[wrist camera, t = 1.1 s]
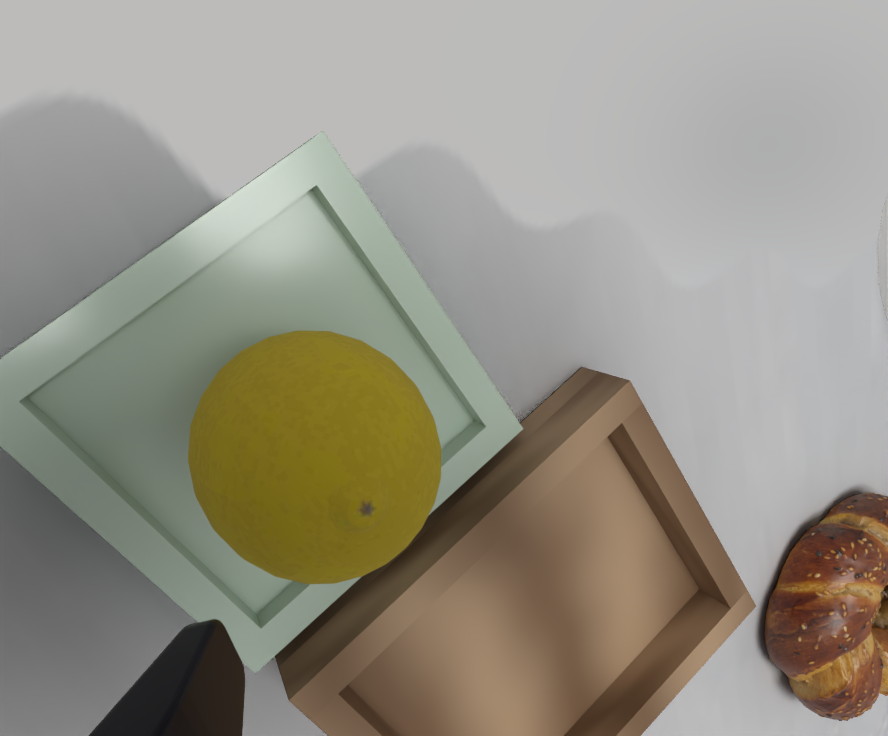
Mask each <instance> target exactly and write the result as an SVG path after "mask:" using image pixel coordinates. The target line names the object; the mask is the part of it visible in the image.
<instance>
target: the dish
mask: <svg viewBox="0 0 888 736" xmlns="http://www.w3.org/2000/svg"><path fill="white" fill-rule="evenodd" d="M293 331H331V332H334V333H338V334H341V335H344V336H348V337H351V338H355V339H358V340H361V341H363V342H365V343H366V344H368V345H370V346H371V347H373V348H375V349H376V350H378V351H380V352H381V353H383V354H385V355H386V356H388V357H389V358H391V359H392V360H393V361H394V362H395V363H396V364H397V365H398V366H399V367H400V368H401V369H402V370H403V371H404V372H405V373H406V375H407V376H408V377H409V378H410V379H411V380H412V381H413V382H414V383H415V384H416V386H417V387H418V389H419V391H420V393H421V394H422V396H423V398H424V400H425V402H426V404H427V406H428V408H429V409H430V411H431V413H432V415H433V418H434V420H435V424H436V428H437V432H438V437H439V441H440V445H441V480H440V484H439V488H438V492H437V496H436V500H435V503H434V505H433V507H432V509H431V511H430V513H429V515H430V514H431V513H432V512H433V511H434V510H435V509H436V508H437V507H438V506H440V505H441V504H442V503H443V502H444V501H445V500H446V499H447V498H448V497H449V496H450V495H452V494H453V493H454V492H455V491H456V490H457V489H458V488H459V487H460V486H461V485H462V484H464V483H465V482H466V481H467V480H468V479H469V478H470V477H471V476H472V475H473V474H475V473H476V472H477V471H478V470H479V469H480V468H481V467H482V466H483V465H484V464H485V463H487V462H488V461H489V460H490V459H491V458H492V457H493V456H494V455H495V454H496V453H498V452H499V451H500V450H501V449H502V448H503V447H504V446H505V445H506V444H507V443H508V442H510V441H511V440H512V439H513V438H514V437H515V436H516V435H517V434H518V433H519V432H520V431H522V430H523V427H522V426H521V424H520V423H519V421H518V420H517V418H516V417H515V416H514V414H513V413H512V411H511V410H510V408H509V407H508V405H507V404H506V402H505V401H504V399H503V398H502V396H501V395H500V393H499V392H498V390H497V389H496V387H495V386H494V384H493V383H492V381H491V380H490V378H489V377H488V375H487V374H486V372H485V371H484V369H483V368H482V366H481V365H480V363H479V362H478V360H477V359H476V357H475V356H474V354H473V353H472V351H471V350H470V348H469V347H468V345H467V344H466V342H465V341H464V339H463V338H462V336H461V335H460V334H459V332H458V331H457V329H456V328H455V326H454V325H453V323H452V322H451V320H450V319H449V317H448V316H447V314H446V313H445V311H444V310H443V308H442V307H441V305H440V304H439V302H438V301H437V299H436V298H435V296H434V295H433V293H432V292H431V290H430V289H429V287H428V286H427V284H426V283H425V281H424V280H423V278H422V277H421V275H420V274H419V272H418V271H417V269H416V268H415V266H414V265H413V263H412V262H411V260H410V259H409V257H408V256H407V254H406V253H405V252H404V250H403V249H402V247H401V246H400V244H399V243H398V241H397V240H396V238H395V237H394V235H393V234H392V232H391V231H390V229H389V228H388V226H387V225H386V223H385V222H384V220H383V219H382V217H381V216H380V214H379V213H378V211H377V210H376V208H375V207H374V205H373V204H372V202H371V201H370V199H369V198H368V196H367V195H366V193H365V192H364V190H363V189H362V187H361V186H360V184H359V183H358V181H357V180H356V178H355V177H354V175H353V174H352V173H351V171H350V170H349V168H348V167H347V165H346V164H345V162H344V161H343V159H342V158H341V156H340V155H339V153H338V152H337V150H336V149H335V147H334V146H333V144H332V143H331V141H330V140H329V139H328V137H327V135H326V134H325V132H324V131H322V132H321V133H319V134H318V135H316V136H314V137H313V138H311V139H310V140H309V141H307V142H306V143H304V144H303V145H301V146H300V147H299V148H298V149H296V150H294V151H293V152H291V153H290V154H289V155H287V156H286V157H284V158H283V159H282V160H280V161H279V162H278V163H276V164H274V165H273V166H272V167H270V168H269V169H267V170H266V171H265V172H263V173H262V174H261V175H259V176H257V177H256V178H255V179H253V180H252V181H250V182H249V183H248V184H246V185H245V186H243V187H242V188H240V189H239V190H238V191H236V192H235V193H234V194H232V195H231V196H229V197H228V198H226V199H225V200H223V201H222V202H221V203H219V204H218V205H216V206H215V207H214V208H212V209H211V210H209V211H208V212H206V213H205V214H204V215H202V216H201V217H199V218H198V219H197V220H195V221H194V222H192V223H191V224H189V225H188V226H187V227H185V228H184V229H182V230H181V231H180V232H178V233H177V234H175V235H174V236H172V237H171V238H170V239H168V240H167V241H165V242H164V243H163V244H161V245H160V246H158V247H157V248H155V249H154V250H153V251H151V252H150V253H148V254H147V255H146V256H144V257H143V258H141V259H140V260H138V261H137V262H136V263H134V264H133V265H131V266H130V267H129V268H127V269H126V270H124V271H123V272H121V273H120V274H119V275H117V276H116V277H114V278H113V279H112V280H110V281H109V282H107V283H106V284H104V285H103V286H102V287H100V288H99V289H97V290H96V291H95V292H93V293H92V294H90V295H89V296H87V297H86V298H85V299H83V300H82V301H80V302H79V303H78V304H76V305H75V306H73V307H72V308H70V309H69V310H68V311H66V312H65V313H63V314H62V315H61V316H59V317H58V318H56V319H55V320H53V321H52V322H51V323H49V324H48V325H46V326H45V327H44V328H42V329H41V330H39V331H38V332H36V333H35V334H34V335H32V336H31V337H29V338H28V339H27V340H25V341H24V342H22V343H21V344H19V345H18V346H17V347H15V348H14V349H12V350H11V351H10V352H8V353H7V354H5V355H4V356H2V357H1V358H0V447H2V448H3V449H4V450H5V451H6V452H7V453H8V454H9V455H11V456H12V457H13V458H14V459H15V460H16V461H17V462H18V463H20V464H21V465H22V466H23V467H24V468H25V469H26V470H27V471H29V472H30V473H31V474H32V475H33V476H34V477H35V478H36V479H37V480H39V481H40V482H41V483H42V484H43V485H44V486H45V487H46V488H48V489H49V490H50V491H51V492H52V493H53V494H54V495H55V496H57V497H58V498H59V499H60V500H61V501H62V502H63V503H64V504H66V505H67V506H68V507H69V508H70V509H71V510H72V511H73V512H74V513H76V514H77V515H78V516H79V517H80V518H81V519H82V520H83V521H85V522H86V523H87V524H88V525H89V526H90V527H91V528H92V529H94V530H95V531H96V532H97V533H98V534H99V535H100V536H101V537H103V538H104V539H105V540H106V541H107V542H108V543H109V544H110V545H111V546H113V547H114V548H115V549H116V550H117V551H118V552H119V553H120V554H122V555H123V556H124V557H125V558H126V559H127V560H128V561H129V562H131V563H132V564H133V565H134V566H135V567H136V568H137V569H138V570H140V571H141V572H142V573H143V574H144V575H145V576H146V577H147V578H148V579H150V580H151V581H152V582H153V583H154V584H155V585H156V586H157V587H159V588H160V589H161V590H162V591H163V592H164V593H165V594H166V595H168V596H169V597H170V598H171V599H172V600H173V601H174V602H175V603H176V604H178V605H179V606H180V607H181V608H182V609H183V610H184V611H185V612H187V613H188V614H189V615H190V616H191V617H192V618H193V619H194V620H196V621H197V622H202V621H207V620H211V619H217V620H220V621H221V622H222V623H223V625H224V626H225V628H226V630H227V632H228V634H229V636H230V638H231V640H232V642H233V644H234V646H235V648H236V651H237V653H238V655H239V657H240V659H241V661H242V662H243V663H244V664H245V665H246V666H247V667H248V668H249V669H250V670H252V671H253V672H254V673H255V674H256V673H257V672H258V671H259V670H260V669H261V668H262V667H263V666H264V665H266V664H267V663H268V662H269V661H270V660H271V659H272V658H273V657H274V656H275V655H276V654H278V653H279V652H280V651H281V650H282V649H283V648H284V647H285V646H286V645H287V644H289V643H290V642H291V641H292V640H293V639H294V638H295V637H296V636H297V635H298V634H299V633H301V632H302V631H303V630H304V629H305V628H306V627H307V626H308V625H309V624H310V623H311V622H313V621H314V620H315V619H316V618H317V617H318V616H319V615H320V614H321V613H322V612H324V611H325V610H326V609H327V608H328V607H329V606H330V605H331V604H332V603H333V602H334V601H336V600H337V599H338V598H339V597H340V596H341V595H342V594H343V593H344V592H345V591H347V590H348V589H349V588H350V587H351V586H352V585H353V584H354V583H355V582H356V581H357V580H359V579H360V578H361V577H362V576H361V577H358V578H354V579H350V580H346V581H343V582H339V583H335V584H304V583H300V582H296V581H292V580H287V579H283V578H279V577H275V576H273V575H271V574H269V573H268V572H266V571H264V570H262V569H260V568H258V567H257V566H255V565H253V564H251V563H249V562H247V561H246V560H244V559H243V558H242V557H240V556H239V555H238V554H237V553H236V552H235V551H234V550H233V549H232V548H231V547H230V546H229V545H228V544H227V543H226V542H225V541H224V540H223V539H222V538H221V537H220V536H219V535H218V534H217V533H216V532H215V531H214V529H213V528H212V526H211V525H210V523H209V521H208V519H207V517H206V515H205V513H204V511H203V510H202V508H201V506H200V504H199V502H198V500H197V498H196V495H195V493H194V488H193V483H192V478H191V473H190V468H189V464H188V450H189V437H190V426H191V423H192V420H193V417H194V414H195V412H196V409H197V406H198V404H199V401H200V398H201V396H202V394H203V393H204V391H205V390H206V388H207V387H208V386H209V384H210V383H211V381H212V380H213V378H214V377H215V376H216V374H217V373H218V371H219V370H220V369H221V368H222V367H223V366H224V365H226V364H227V363H228V362H229V361H230V360H231V359H232V358H234V357H235V356H236V355H237V354H238V353H239V352H240V351H242V350H244V349H246V348H248V347H250V346H252V345H254V344H256V343H258V342H260V341H262V340H264V339H266V338H268V337H271V336H276V335H280V334H285V333H289V332H293ZM429 515H428V516H429Z"/></svg>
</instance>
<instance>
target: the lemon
mask: <svg viewBox="0 0 888 736" xmlns="http://www.w3.org/2000/svg"><path fill="white" fill-rule="evenodd" d="M188 464H189V468H190V473H191V478H192V483H193V488H194V493H195V495H196V498H197V500H198V502H199V504H200V506H201V508H202V510H203V511H204V513H205V515H206V517H207V519H208V521H209V523H210V525H211V526H212V528H213V529H214V531H215V532H216V533H217V534H218V535H219V536H220V537H221V538H222V539H223V540H224V541H225V542H226V543H227V544H228V545H229V546H230V547H231V548H232V549H233V550H234V551H235V552H236V553H237V554H238V555H239V556H240V557H242V558H243V559H244V560H246V561H247V562H249V563H251V564H253V565H255V566H257V567H258V568H260V569H262V570H264V571H266V572H268V573H269V574H271V575H273V576H275V577H279V578H283V579H287V580H292V581H296V582H300V583H304V584H335V583H339V582H343V581H346V580H350V579H354V578H358V577H361V576H364V575H366V574H368V573H370V572H372V571H374V570H376V569H378V568H380V567H382V566H384V565H386V564H387V563H388V562H390V561H391V560H392V559H393V558H395V557H396V556H397V555H398V554H399V553H401V552H402V551H403V550H404V549H405V548H407V546H408V545H409V544H410V543H411V541H412V540H413V539H414V538H415V536H416V535H417V534H418V533H419V531H420V530H421V529H422V527H423V525H424V523H425V521H426V519H427V517H428V515H429V513H430V511H431V509H432V507H433V505H434V503H435V500H436V496H437V492H438V488H439V484H440V480H441V445H440V441H439V437H438V432H437V428H436V424H435V420H434V418H433V415H432V413H431V411H430V409H429V408H428V406H427V404H426V402H425V400H424V398H423V396H422V394H421V393H420V391H419V389H418V387H417V386H416V384H415V383H414V382H413V381H412V380H411V379H410V378H409V377H408V376H407V375H406V373H405V372H404V371H403V370H402V369H401V368H400V367H399V366H398V365H397V364H396V363H395V362H394V361H393V360H392V359H391V358H389V357H388V356H386V355H385V354H383V353H381V352H380V351H378V350H376V349H375V348H373V347H371V346H370V345H368V344H366V343H365V342H363V341H361V340H358V339H355V338H351V337H348V336H344V335H341V334H338V333H334V332H331V331H293V332H289V333H285V334H280V335H276V336H271V337H268V338H266V339H264V340H262V341H260V342H258V343H256V344H254V345H252V346H250V347H248V348H246V349H244V350H242V351H240V352H239V353H238V354H237V355H236V356H235V357H234V358H232V359H231V360H230V361H229V362H228V363H227V364H226V365H224V366H223V367H222V368H221V369H220V370H219V371H218V373H217V374H216V376H215V377H214V378H213V380H212V381H211V383H210V384H209V386H208V387H207V388H206V390H205V391H204V393H203V394H202V396H201V398H200V401H199V404H198V406H197V409H196V412H195V414H194V417H193V420H192V423H191V426H190V437H189V450H188Z"/></svg>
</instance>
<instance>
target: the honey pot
mask: <svg viewBox="0 0 888 736" xmlns="http://www.w3.org/2000/svg"><path fill="white" fill-rule="evenodd" d="M879 232H880V235H879V242H878V277H879V288H880V293H881V297H882V302H883V306H884V310H885V315H886V318H887V320H888V194H887V197H886V200H885V204H884V207H883V210H882V217H881V224H880V231H879Z"/></svg>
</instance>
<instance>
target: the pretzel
mask: <svg viewBox="0 0 888 736" xmlns="http://www.w3.org/2000/svg"><path fill="white" fill-rule="evenodd" d="M765 644H766V648H767V651H768V654H769V656H770V660H771V662H772V663H774V664H775V665H776V666H777V667H778V668H779V669H780V670H782V671H783V672H784V673H785V674H786V676H788V679H789V684H790V686H791V688H792V690H793V692H794V693H795V695H796V696H797V698H798V699H799V700H800V701H801V703H802V704H803V705H804V706H805V707H807V708H808V709H810V710H811V711H813V712H815V713H816V714H818V715H819V716H821V717H826V718H830V719H836V720H839V721H842V720H847V721H848V719H850V718H853V717H858V716H861V715H862V714H863V713H864V712H865V711H867V710H869V709H871V707H872V704H874V703H875V701H876V700H877V697H878V696H879V693H881V694H883V695H885V696H887V695H888V497H887V496H883V495H880V494H874V493H866V494H857V495H854V496H851V497H848V498H846V499H845V500H843V501H841V502H840V503H839V504H837V505H836V506H834V507H833V508H832V510H830V512H829V513H828V514H827V515H826V517H825V518H824V519H823V520H822V521H821V522H820V523H819V524H818V525H815V526H814V527H811V529H809V530H806V531H805V533H804V535H803V536H802V537H801V538H800V539H799V541H798V543H797V544H796V545H795V546H794V548H793V549H792V551H791V552H790V554H789V556H788V558H787V560H786V562H785V564H784V566H783V568H782V570H781V573H780V576H779V578H778V582H777V585H776V588H775V589H774V591H773V593H772V595H771V597H770V600H769V604H768V608H767V613H766V618H765Z"/></svg>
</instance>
